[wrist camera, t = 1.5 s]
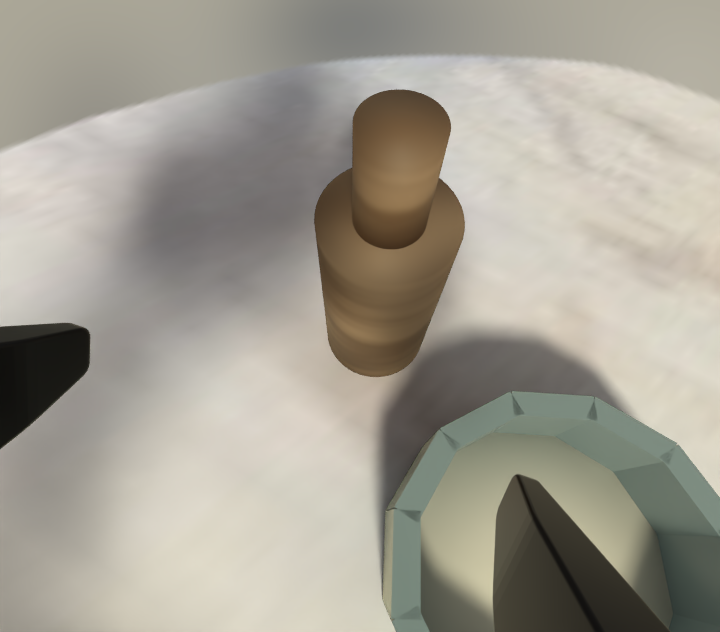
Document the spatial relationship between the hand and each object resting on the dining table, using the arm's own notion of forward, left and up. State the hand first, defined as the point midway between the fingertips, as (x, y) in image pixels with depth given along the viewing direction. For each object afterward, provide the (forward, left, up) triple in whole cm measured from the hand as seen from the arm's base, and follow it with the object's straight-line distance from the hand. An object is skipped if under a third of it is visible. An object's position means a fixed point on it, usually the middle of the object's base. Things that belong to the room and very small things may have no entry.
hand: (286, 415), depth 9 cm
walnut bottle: (+6, -6, -14) cm, 16 cm away
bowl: (-7, -7, -14) cm, 17 cm away
